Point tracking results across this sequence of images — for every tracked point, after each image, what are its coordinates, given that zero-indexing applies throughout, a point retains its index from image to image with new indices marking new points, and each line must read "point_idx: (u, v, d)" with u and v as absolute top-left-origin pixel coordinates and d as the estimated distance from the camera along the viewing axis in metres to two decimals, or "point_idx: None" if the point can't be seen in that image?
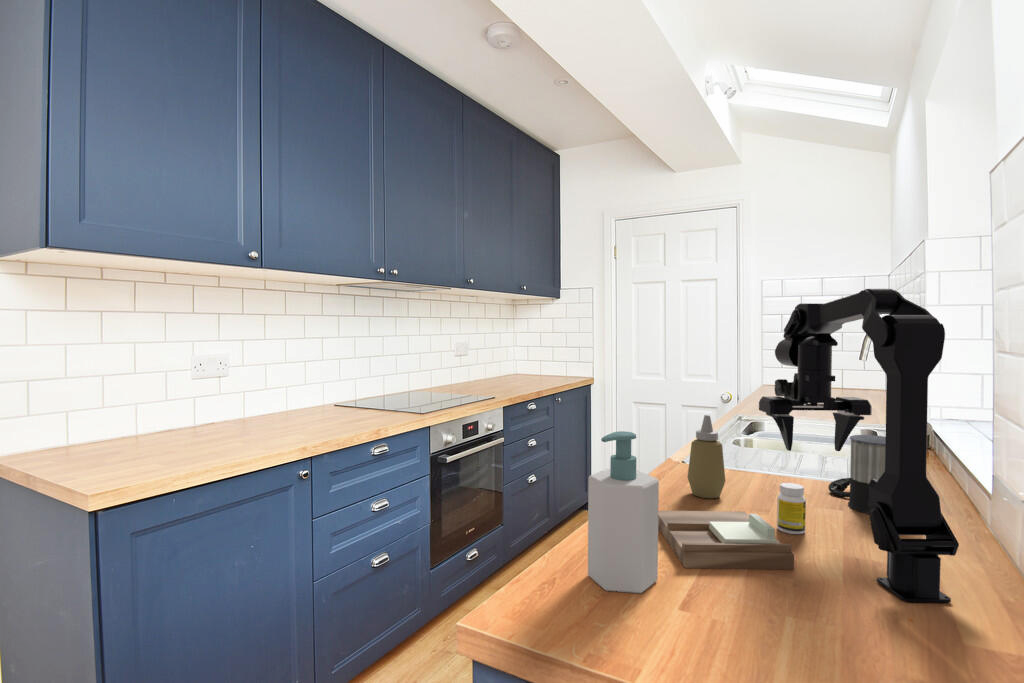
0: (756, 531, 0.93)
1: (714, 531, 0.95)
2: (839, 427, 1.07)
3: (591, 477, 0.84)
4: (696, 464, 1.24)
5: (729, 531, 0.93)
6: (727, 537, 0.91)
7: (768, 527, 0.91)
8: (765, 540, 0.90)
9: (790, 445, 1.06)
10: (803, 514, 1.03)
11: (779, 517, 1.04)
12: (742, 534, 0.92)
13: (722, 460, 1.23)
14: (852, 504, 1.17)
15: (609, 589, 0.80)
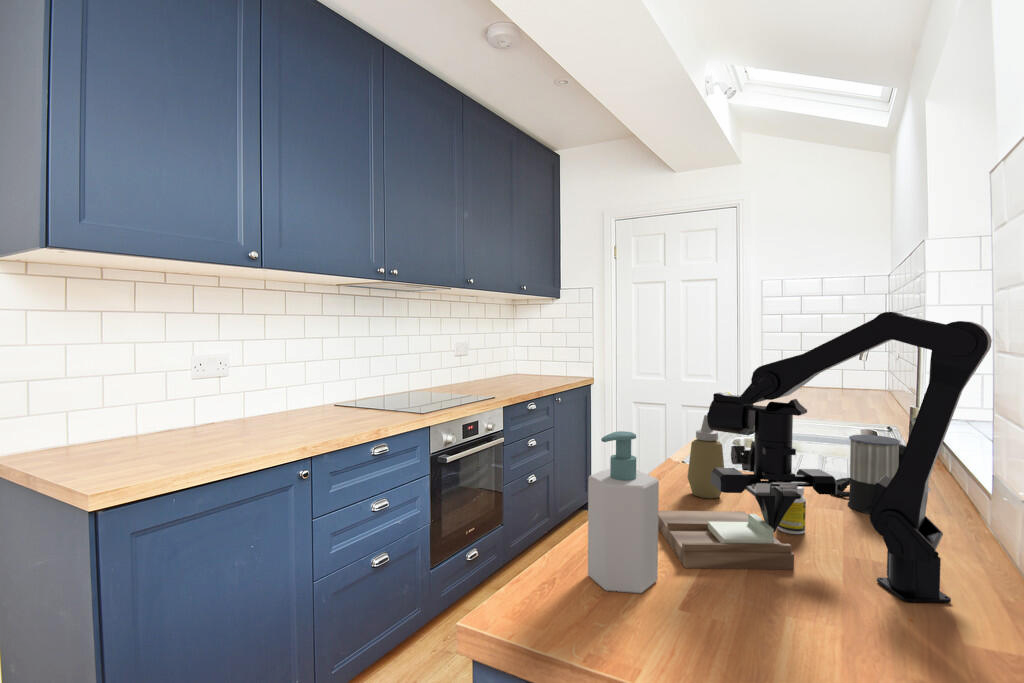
0: (755, 531, 0.93)
1: (713, 531, 0.95)
2: None
3: (591, 477, 0.84)
4: (696, 464, 1.24)
5: (727, 531, 0.93)
6: (726, 537, 0.91)
7: (767, 527, 0.91)
8: (764, 540, 0.90)
9: (771, 526, 0.93)
10: (803, 514, 1.03)
11: None
12: (741, 534, 0.92)
13: (722, 460, 1.23)
14: (852, 504, 1.17)
15: (609, 589, 0.80)
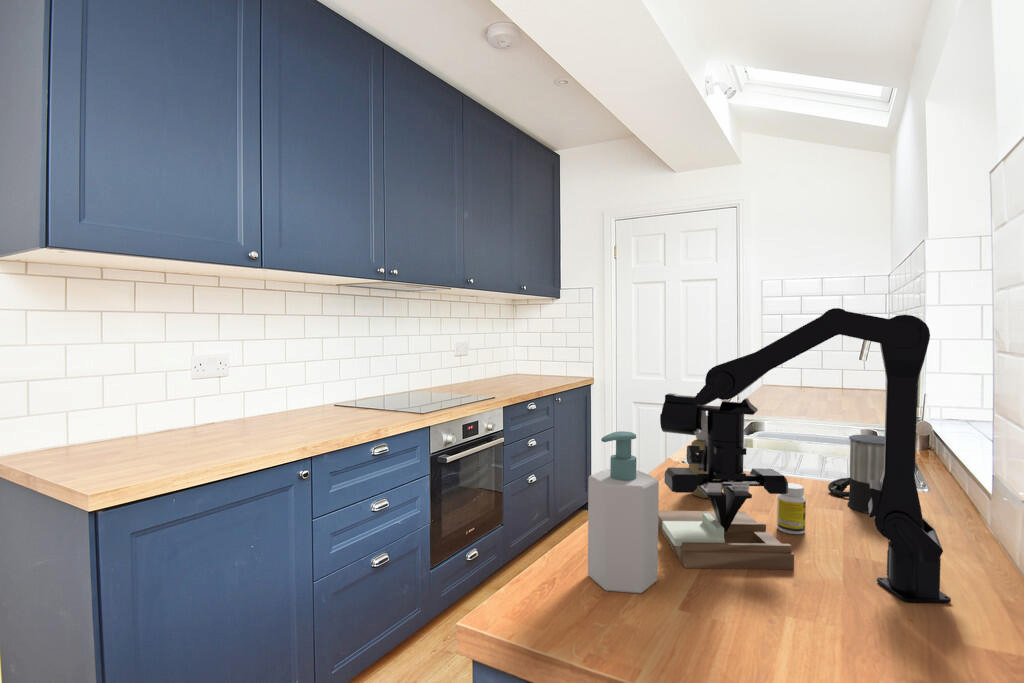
0: (707, 530, 0.94)
1: (666, 530, 0.95)
2: (726, 504, 0.94)
3: (591, 477, 0.84)
4: (696, 464, 1.24)
5: (679, 531, 0.93)
6: (677, 537, 0.91)
7: (718, 526, 0.91)
8: (714, 539, 0.90)
9: (723, 526, 0.93)
10: (803, 514, 1.03)
11: (779, 517, 1.04)
12: (692, 534, 0.92)
13: None
14: (851, 504, 1.17)
15: (609, 589, 0.80)
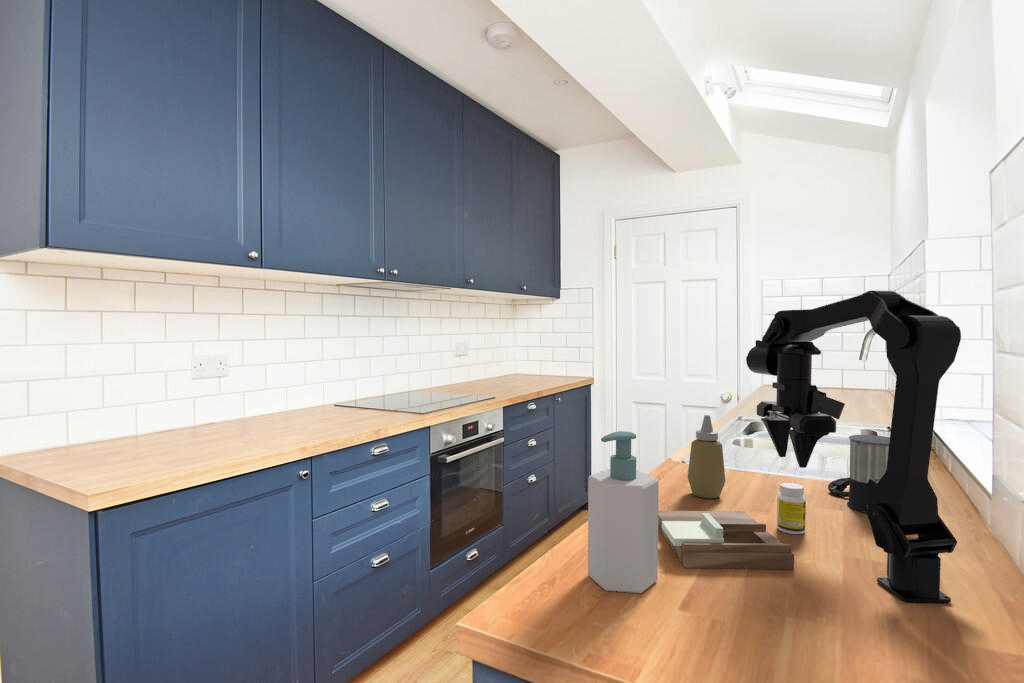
0: (706, 530, 0.94)
1: (665, 530, 0.95)
2: None
3: (591, 477, 0.84)
4: (696, 464, 1.24)
5: (679, 531, 0.93)
6: (676, 537, 0.91)
7: (717, 526, 0.91)
8: (714, 539, 0.90)
9: (777, 450, 1.08)
10: (803, 514, 1.03)
11: (779, 517, 1.04)
12: (691, 534, 0.92)
13: (722, 460, 1.23)
14: (851, 504, 1.17)
15: (609, 589, 0.80)
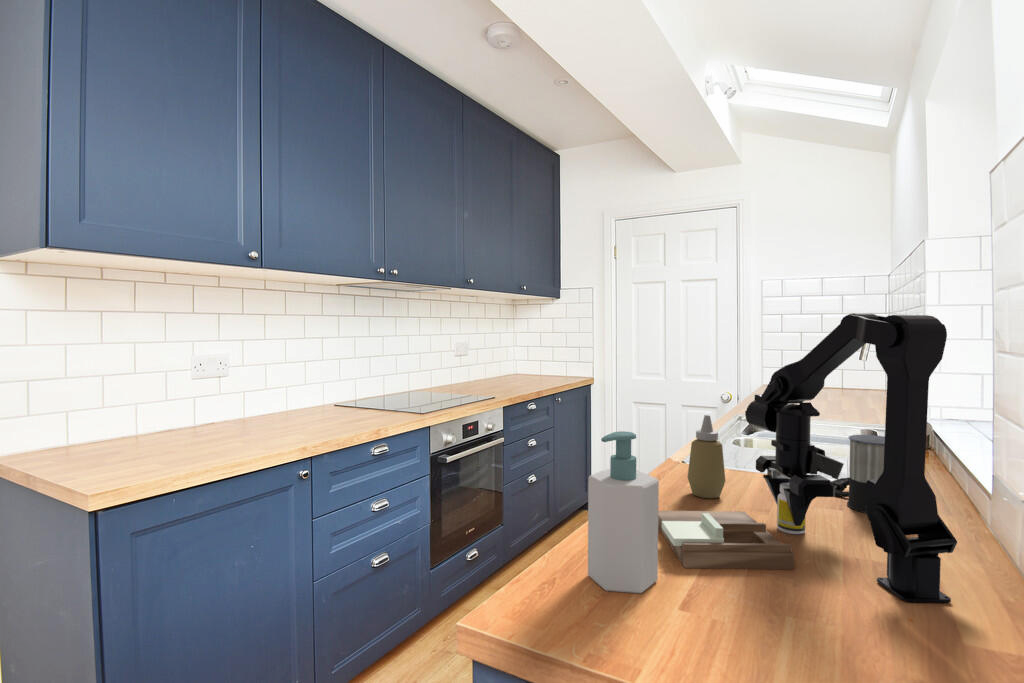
0: (706, 530, 0.94)
1: (665, 530, 0.95)
2: None
3: (591, 477, 0.84)
4: (696, 464, 1.24)
5: (679, 531, 0.93)
6: (676, 537, 0.91)
7: (717, 526, 0.91)
8: (714, 539, 0.90)
9: None
10: None
11: (779, 517, 1.04)
12: (691, 534, 0.92)
13: (722, 460, 1.23)
14: (851, 504, 1.17)
15: (609, 589, 0.80)
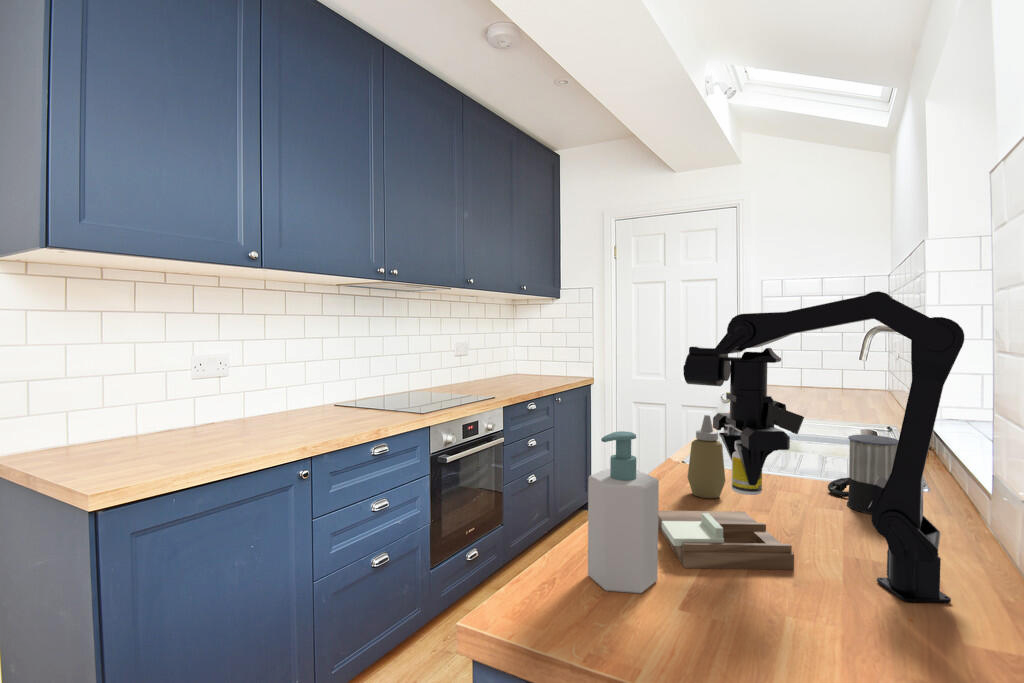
0: (706, 530, 0.94)
1: (665, 530, 0.95)
2: None
3: (591, 477, 0.84)
4: (696, 464, 1.24)
5: (679, 531, 0.93)
6: (676, 537, 0.91)
7: (717, 526, 0.91)
8: (714, 539, 0.90)
9: None
10: None
11: (733, 477, 0.94)
12: (691, 534, 0.92)
13: (722, 460, 1.23)
14: (851, 504, 1.17)
15: (609, 589, 0.80)
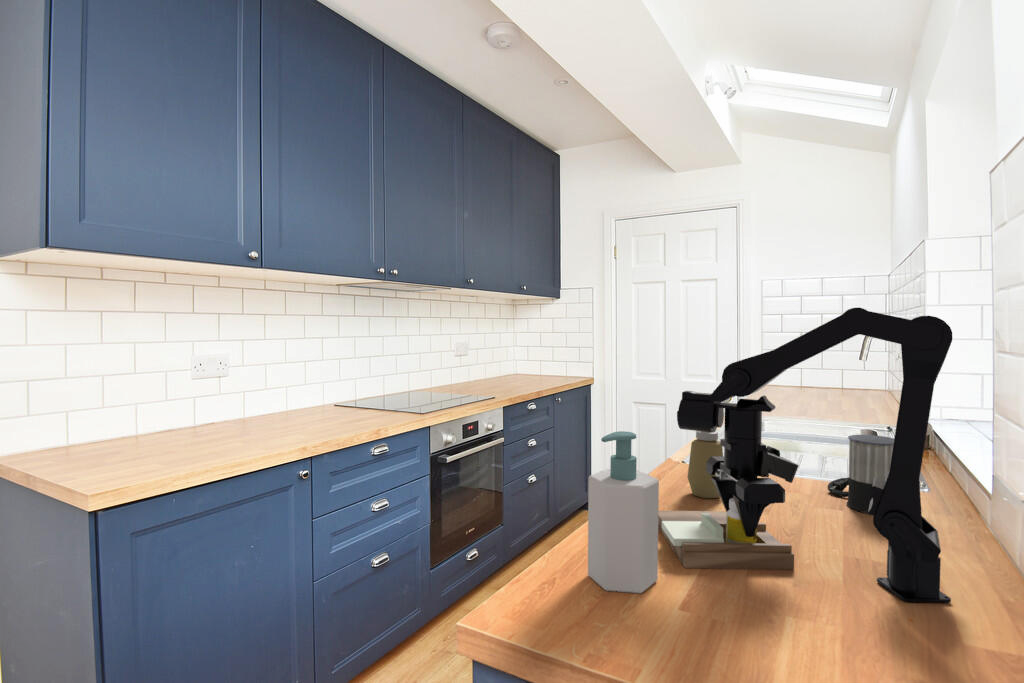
0: (706, 530, 0.94)
1: (665, 530, 0.95)
2: None
3: (591, 477, 0.84)
4: (696, 464, 1.24)
5: (679, 531, 0.93)
6: (676, 537, 0.91)
7: (717, 526, 0.91)
8: (714, 539, 0.90)
9: None
10: None
11: (728, 536, 0.93)
12: (691, 534, 0.92)
13: None
14: (850, 504, 1.17)
15: (609, 589, 0.80)
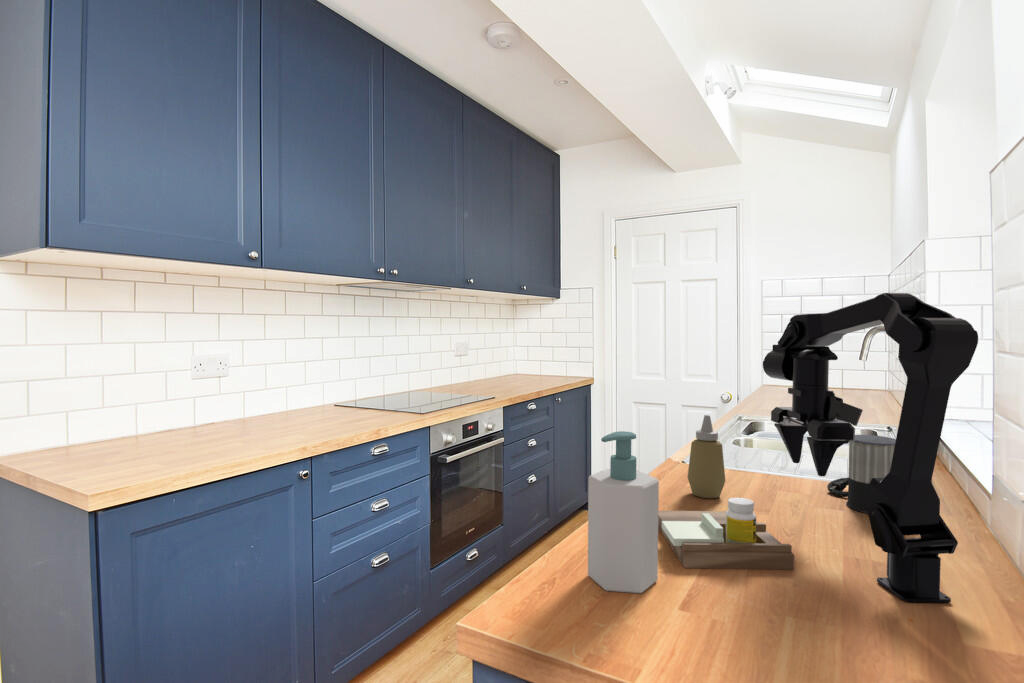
0: (706, 530, 0.94)
1: (665, 530, 0.95)
2: None
3: (591, 477, 0.84)
4: (696, 464, 1.24)
5: (679, 531, 0.93)
6: (676, 537, 0.91)
7: (717, 526, 0.91)
8: (714, 539, 0.90)
9: (791, 456, 1.07)
10: (753, 533, 0.92)
11: (728, 536, 0.93)
12: (691, 534, 0.92)
13: (722, 460, 1.23)
14: (850, 504, 1.17)
15: (609, 589, 0.80)
